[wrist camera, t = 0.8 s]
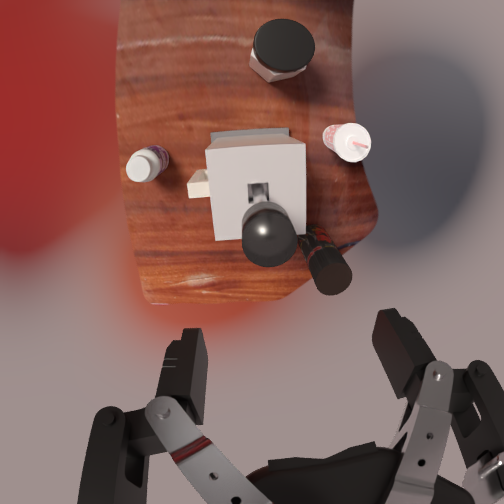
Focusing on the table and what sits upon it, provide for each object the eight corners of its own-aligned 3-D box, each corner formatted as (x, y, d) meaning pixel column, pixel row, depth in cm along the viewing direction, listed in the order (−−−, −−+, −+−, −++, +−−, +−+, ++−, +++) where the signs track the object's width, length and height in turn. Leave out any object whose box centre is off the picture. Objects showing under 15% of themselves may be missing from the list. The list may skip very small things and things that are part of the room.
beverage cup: (352, 151, 48) (387, 166, 35) (321, 155, 48) (348, 171, 36) (348, 119, 45) (383, 123, 32) (316, 122, 45) (343, 126, 33)
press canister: (198, 133, 45) (174, 144, 29) (287, 127, 46) (313, 134, 29) (205, 204, 51) (190, 250, 35) (289, 198, 52) (313, 240, 35)
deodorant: (291, 239, 55) (307, 282, 42) (313, 218, 54) (336, 255, 40) (311, 257, 57) (331, 301, 44) (332, 237, 56) (359, 277, 42)
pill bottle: (174, 164, 48) (161, 176, 39) (150, 178, 49) (132, 193, 40) (161, 139, 45) (144, 145, 37) (136, 153, 46) (116, 163, 38)
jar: (291, 88, 42) (307, 81, 32) (244, 77, 41) (246, 65, 31) (303, 44, 38) (322, 26, 28) (257, 32, 37) (262, 9, 27)
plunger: (219, 157, 32) (204, 190, 18) (290, 152, 32) (328, 182, 19) (226, 222, 36) (218, 295, 22) (291, 217, 36) (323, 286, 22)
